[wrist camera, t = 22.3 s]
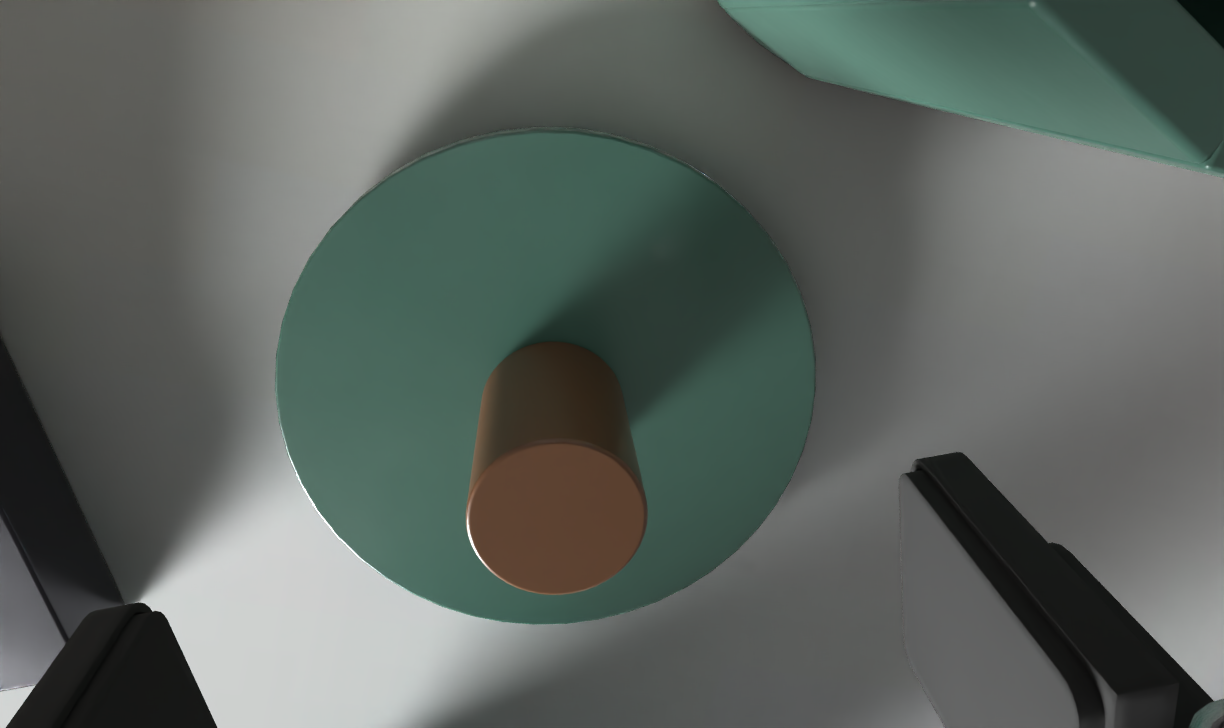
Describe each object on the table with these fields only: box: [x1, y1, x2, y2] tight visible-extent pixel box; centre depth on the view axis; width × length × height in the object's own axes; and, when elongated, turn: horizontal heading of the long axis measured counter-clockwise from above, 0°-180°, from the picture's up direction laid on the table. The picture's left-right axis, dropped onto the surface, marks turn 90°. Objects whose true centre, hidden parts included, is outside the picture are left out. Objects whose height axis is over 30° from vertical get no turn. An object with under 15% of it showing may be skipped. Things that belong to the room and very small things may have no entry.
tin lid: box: [275, 127, 816, 625], centre depth 17 cm, size 11×11×6 cm
